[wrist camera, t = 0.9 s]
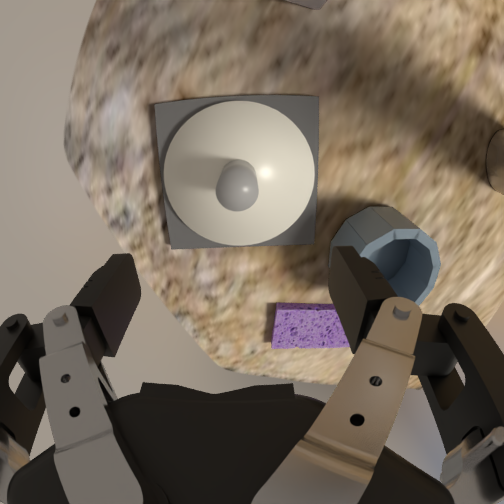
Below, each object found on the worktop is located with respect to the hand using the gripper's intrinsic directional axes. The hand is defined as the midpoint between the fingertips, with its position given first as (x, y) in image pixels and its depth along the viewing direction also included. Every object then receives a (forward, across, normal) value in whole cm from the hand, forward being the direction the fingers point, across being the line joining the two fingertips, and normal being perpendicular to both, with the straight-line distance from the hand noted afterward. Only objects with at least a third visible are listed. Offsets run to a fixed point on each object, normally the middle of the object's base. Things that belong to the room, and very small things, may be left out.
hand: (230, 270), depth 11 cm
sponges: (+19, -10, +20) cm, 29 cm away
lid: (+17, 0, 0) cm, 17 cm away
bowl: (+18, -15, +9) cm, 25 cm away
